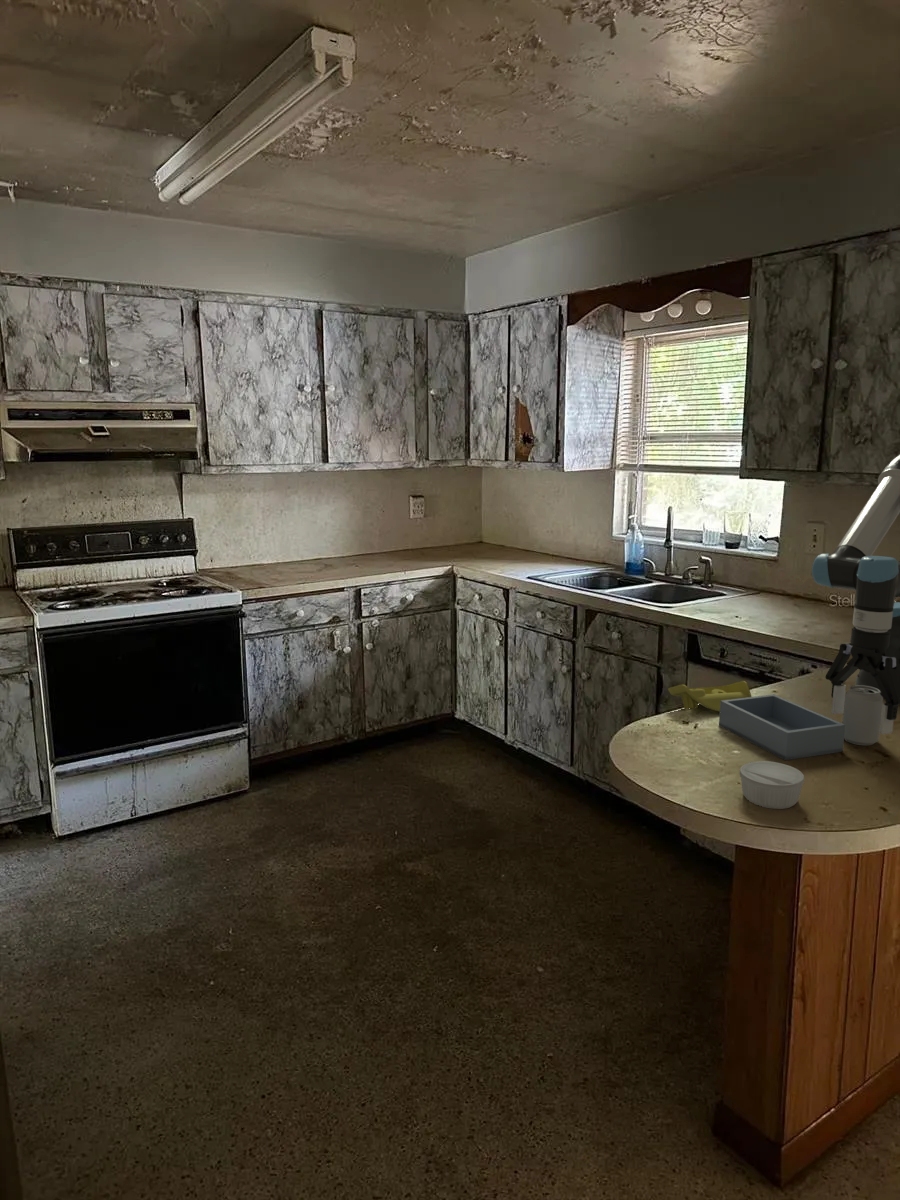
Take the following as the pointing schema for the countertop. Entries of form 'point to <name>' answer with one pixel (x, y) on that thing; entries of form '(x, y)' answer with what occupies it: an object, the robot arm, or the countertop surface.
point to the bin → (782, 726)
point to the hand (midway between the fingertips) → (860, 723)
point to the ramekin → (771, 784)
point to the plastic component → (710, 694)
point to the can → (862, 714)
